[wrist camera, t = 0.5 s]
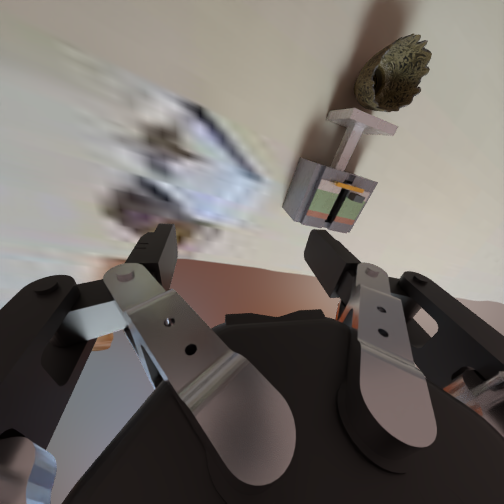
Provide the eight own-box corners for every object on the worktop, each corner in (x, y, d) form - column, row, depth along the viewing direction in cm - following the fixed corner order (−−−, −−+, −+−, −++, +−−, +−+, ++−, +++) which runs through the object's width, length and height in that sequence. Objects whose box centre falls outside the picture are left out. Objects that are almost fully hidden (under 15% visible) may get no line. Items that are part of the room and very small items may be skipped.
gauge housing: (300, 157, 36) (320, 164, 29) (353, 173, 39) (382, 183, 32) (282, 207, 40) (296, 223, 34) (331, 218, 44) (352, 234, 37)
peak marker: (350, 192, 32) (356, 195, 31) (359, 194, 32) (365, 197, 31) (347, 198, 32) (353, 201, 31) (356, 200, 33) (362, 203, 32)
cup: (351, 48, 29) (393, 25, 22) (393, 59, 30) (444, 41, 24) (333, 110, 32) (365, 106, 26) (371, 118, 34) (410, 116, 27)
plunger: (329, 110, 32) (363, 106, 25) (367, 126, 34) (409, 126, 27) (305, 173, 37) (328, 185, 30) (340, 183, 39) (369, 196, 32)
